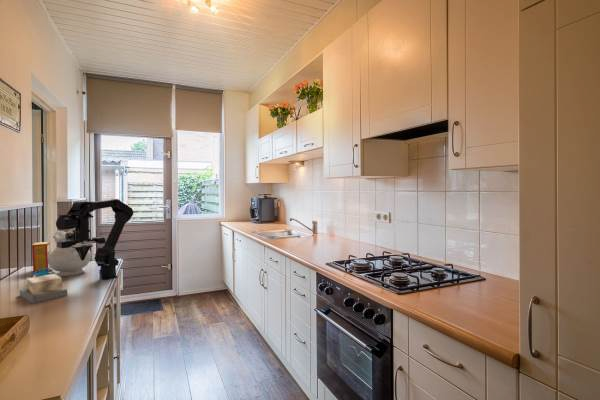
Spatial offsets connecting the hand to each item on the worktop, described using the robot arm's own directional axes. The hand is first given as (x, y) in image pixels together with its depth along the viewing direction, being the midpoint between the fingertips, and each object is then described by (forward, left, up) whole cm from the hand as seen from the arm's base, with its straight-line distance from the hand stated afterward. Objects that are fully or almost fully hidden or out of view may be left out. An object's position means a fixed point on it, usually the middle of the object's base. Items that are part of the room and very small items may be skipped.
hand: (82, 260), depth 154 cm
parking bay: (+16, +2, -12) cm, 20 cm away
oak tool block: (+15, +1, -12) cm, 20 cm away
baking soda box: (+2, -53, -12) cm, 55 cm away
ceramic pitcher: (-5, -30, -12) cm, 33 cm away
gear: (+11, -18, -12) cm, 24 cm away
